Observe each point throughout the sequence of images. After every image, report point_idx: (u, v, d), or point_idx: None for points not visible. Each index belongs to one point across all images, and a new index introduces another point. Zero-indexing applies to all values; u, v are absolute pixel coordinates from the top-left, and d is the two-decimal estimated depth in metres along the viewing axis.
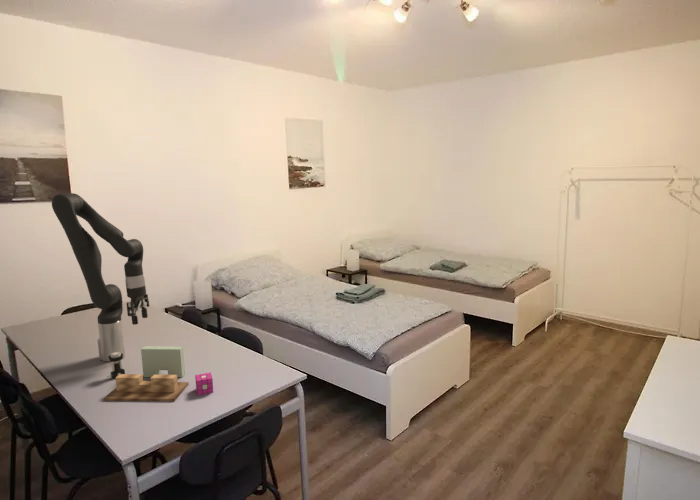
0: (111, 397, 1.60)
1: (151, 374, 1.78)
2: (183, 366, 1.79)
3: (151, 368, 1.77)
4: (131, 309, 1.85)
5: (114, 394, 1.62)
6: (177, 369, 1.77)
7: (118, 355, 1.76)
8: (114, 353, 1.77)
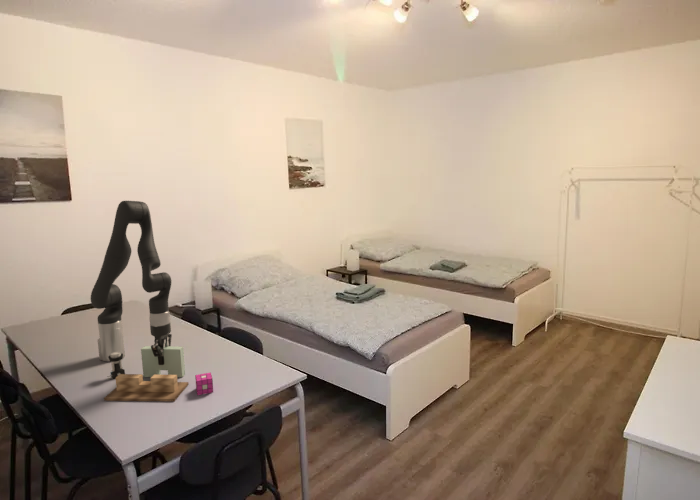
0: (111, 397, 1.60)
1: (151, 374, 1.78)
2: (183, 366, 1.79)
3: (151, 368, 1.77)
4: (157, 352, 1.72)
5: (114, 394, 1.62)
6: (177, 369, 1.77)
7: (118, 355, 1.76)
8: (114, 353, 1.77)
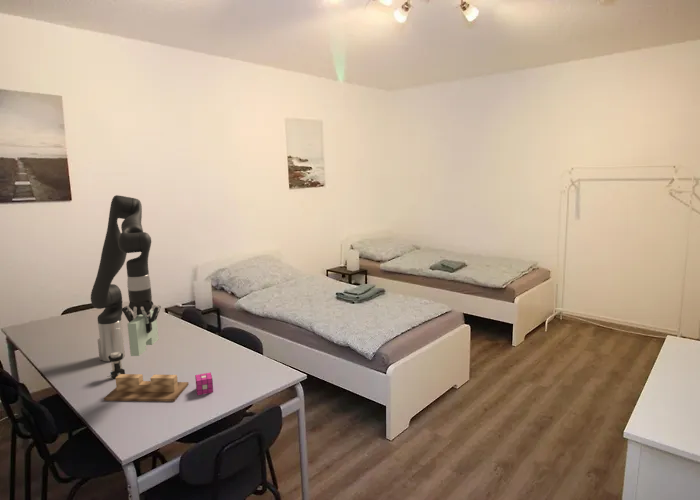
0: (111, 397, 1.60)
1: None
2: (135, 345, 1.54)
3: None
4: None
5: (114, 394, 1.62)
6: None
7: (118, 355, 1.76)
8: (114, 353, 1.77)
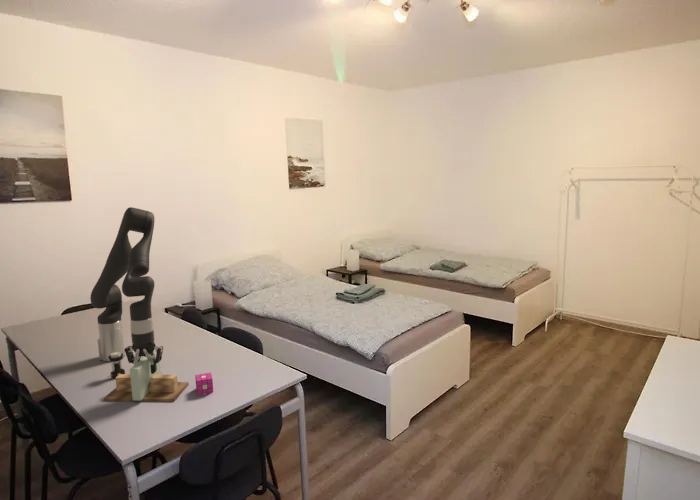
0: (111, 397, 1.60)
1: None
2: (137, 390, 1.57)
3: None
4: None
5: (114, 394, 1.62)
6: None
7: (118, 355, 1.76)
8: (114, 353, 1.77)
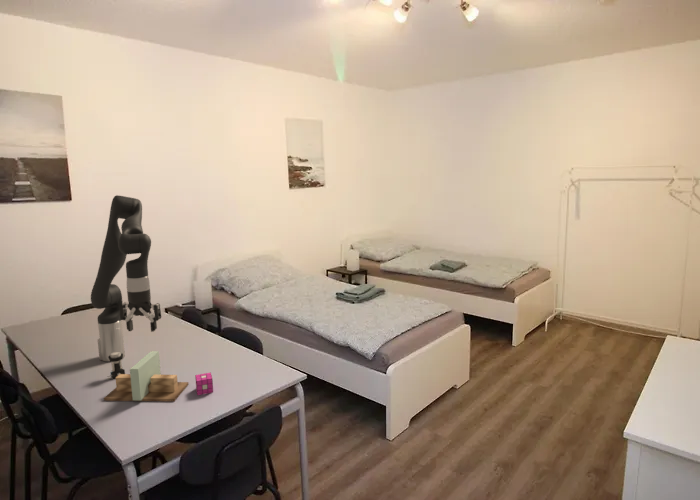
0: (111, 397, 1.60)
1: None
2: (137, 390, 1.57)
3: None
4: None
5: (114, 394, 1.62)
6: None
7: (118, 355, 1.76)
8: (114, 353, 1.77)
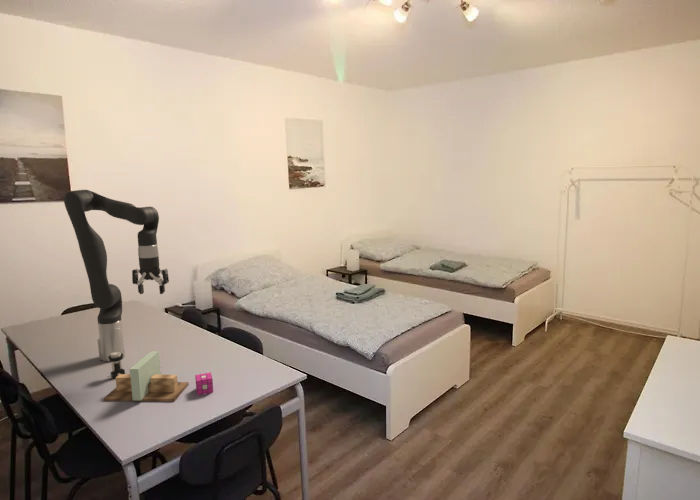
0: (111, 397, 1.60)
1: None
2: (137, 390, 1.57)
3: None
4: None
5: (114, 394, 1.62)
6: None
7: (118, 355, 1.76)
8: (114, 353, 1.77)
